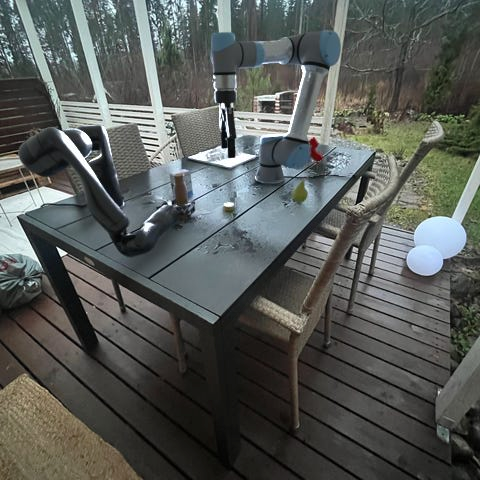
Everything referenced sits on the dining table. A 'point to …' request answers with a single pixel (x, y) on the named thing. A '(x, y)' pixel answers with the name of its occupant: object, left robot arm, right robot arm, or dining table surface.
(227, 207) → the cap
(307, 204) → the dining table surface
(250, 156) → the relief map
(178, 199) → the bottle
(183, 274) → the dining table surface
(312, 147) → the toy gun
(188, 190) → the ink box
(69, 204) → the left robot arm
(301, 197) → the fruit
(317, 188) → the dining table surface
